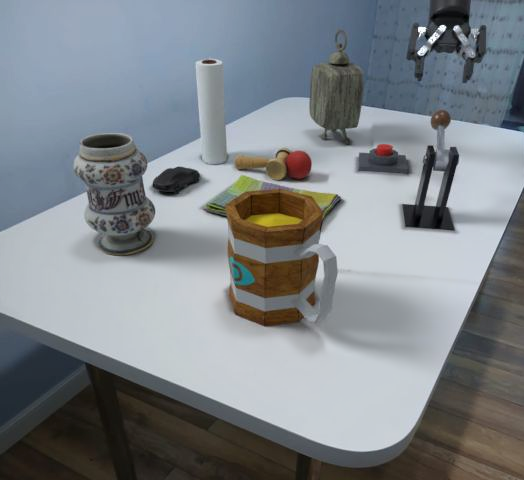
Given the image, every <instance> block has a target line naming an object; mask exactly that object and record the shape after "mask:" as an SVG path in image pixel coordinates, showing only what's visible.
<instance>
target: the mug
mask: <svg viewBox="0 0 524 480" xmlns="http://www.w3.org/2000/svg"><path fill="white" fill-rule="evenodd" d="M225 208H226V214H227V216H226V219H227V235H228V236H227V240H228V241H227V259H228V267H229V281H230V283H229V293H228V296H229V299H230V303H231V306H232V309H233V312H234V315H235V316H238V317H240V318H242V319H245V320H248V321H250V322H252V323H255V324H257V325H260V326H262V327H270V326H275V325H283V324H291V323H292V324H293V323H297V322H298V323H299V322H300V321H301V320H302V319H303V318H305V319H306V321H308V322H309V323H312V324H322V323H323V322H325V321H326V320H327V318H328V317H329V315H330V314H331V311H332V306H333V300H334V292H335V287H336V282H337V278H338V273H339V271H338V261H337V259H338V258H337V255H336V254H335V252H333V250H332V249H331V248H330V247H329V246H328V244H323V243H322V244H321V243H320V233H321V232H320V231H321V226H322V222H323V221H322V217H323V211H322V210H321V208H320V207H319V205H318V204H317V203H316V201H315V200H314V198H313V197H312V196H308V195H304V194H300V193H296V192H292V191H289V190H285V189H281V188H280V189H269V190H258V191H247V192H244V193H243V194H241V195H240V196H238V197H236V198H235V199H233V200H232V201H230V202H228V203H227V204H225ZM320 260H321V261H322V262H323V280H322V284H321V288H320V295H319V296H320V297H319V305H318V311H317V310H316V309H315V308H314V306H315V305H316V294H315V288H316V277H317V273H318V268H319V262H320Z"/></svg>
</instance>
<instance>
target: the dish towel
mask: <svg viewBox="0 0 524 480" xmlns="http://www.w3.org/2000/svg"><path fill="white" fill-rule="evenodd" d="M280 188H281V189H285V190H289V191H292V192H296V193H300V194H304V195H308V196H312V197H313V198H314V200H315V201H316V203H317V204H318V205H319V207H320V208H321V210H322V211H323V217H322V222H323V220H324V219H325V217H326V215H328V213H329V212H330V210H331V209H332V208H334V206H335V205H336V203H337V202H341V201H342V197H341V196H340V195H339V194H338V193H330V192H319V191H318V192H317V191H310V190H305V189H298V188H294V187H293V188H292V187H288V186H284V185H280V184H277V183H271V182H267V181H264V180H258V179H256V178H253V177H250V176H247V175H245V174H241V175H240V176H239V178H238V179H237V180H236V181H235V182H234V183H233V185H232V186H230V187H229V189H227V190H226V191H225V192H224V193H221V194H219V196H217V197H216V198H214V199H212V200H211V201H208V202H207V203H206V205H205V206H204V207H203V209H202V210H203V211H205V212H207V213H208V212H209V213H212V214H216V215H221V216H224V217H227V214H226V208H225V204H227V203H228V202H230V201H232V200H233V199H235V198H236V197H238V196H240V195H241V194H243V193H244V192H247V191H258V190H269V189H280Z"/></svg>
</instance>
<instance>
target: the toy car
mask: <svg viewBox="0 0 524 480" xmlns="http://www.w3.org/2000/svg"><path fill="white" fill-rule="evenodd" d="M200 177H201V174H200V172H199V171H198V170H197V169H194V168H190V167H186V166H185V167H184V166H180V165H179V166H176V167H174V168H172V167H170V168H166V169H164V170H163V171H162V172H160V174H158V175H157V176H156V177H154V179H153V180H152V186H151V187H152V189H154V190H156V191H161V192H166V193H167V192H168V193H174V194H178V193H179V192H180V190H181V189H182V188H187V186H188V185H189V184H191V183H197V182H199V180H200Z"/></svg>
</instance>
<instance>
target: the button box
mask: <svg viewBox="0 0 524 480" xmlns="http://www.w3.org/2000/svg"><path fill="white" fill-rule="evenodd" d="M376 150H377V147H376V148H375V147H374V148H372V149H370V150H369V152H359V153H358V160H357V161H358V163H357V164H358V167H357V172H367V173H368V172H369V173H384V174H401V175H407V174H408V171H409V167H408V161H407V155H406V154H399V152H398V151H397V150H395V149H393V150H392V155H391V156H381V155H377V154H376Z"/></svg>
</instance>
